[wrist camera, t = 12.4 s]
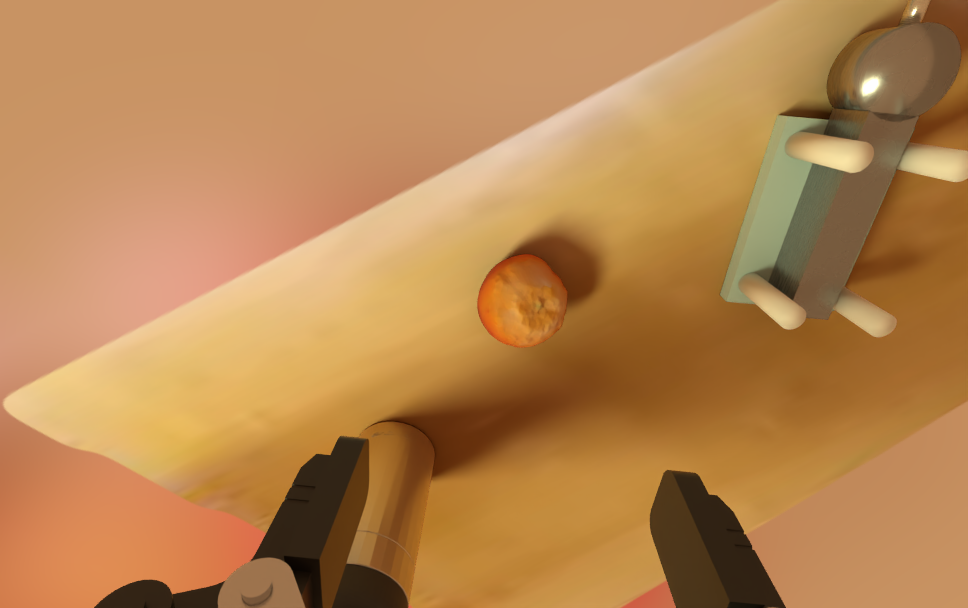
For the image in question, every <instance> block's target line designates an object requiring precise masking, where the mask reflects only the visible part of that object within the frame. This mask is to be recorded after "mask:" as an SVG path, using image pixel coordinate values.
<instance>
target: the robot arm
mask: <svg viewBox="0 0 968 608" xmlns="http://www.w3.org/2000/svg"><path fill="white" fill-rule="evenodd" d="M434 459H435V452H434V448H433V445H432V443H431V441H430V440H429V439H428V438H427V436H426V435H425V434H424V433H422V432H421V431H420V430H418V429H416V428H415V427H413V426H410V425H408V424H405V423H400V422H382V423H377V424H375V425H372V426H370V427H369V428H367V429H366V430H364V431H363V432H362V433H361V435H360V436H359V438H357V437H347V436H340V437H339V438H338V440H337V442H336V444H335V447H334V449H333V451H332V453H331V455H323V454H316V455H315V456H314V457H313V458H311V459H310V460H309V461H308V462H307V463H306V464H305V465H303V466H302V467H301V469H300V471H299V472H298V474H297V476H296V478H295V480H294V482H293V484H292V488H290V489H289V491H288V493H287V495H286V497H285V501H284V502H283V503H282V505H281V506H280V508H279V510H278V512H277V514H276V516H275V518H274V520H273V522H272V524H271V525H270V527H269V529H268V531H267V533H266V535H265V537H264V539H263V541H262V543H261V544H260V546H259V548H258V550H257V552H256V554H255V555H254V557H253V559H252V560H251V561H250V562H248V563H246V564H244V565H243V566H241V567H240V568H238V569H237V570H236V571H234V572H233V573H232V574H231V575H230V576H229V577H228V578H227V580H226V581H224V582H222V583H219V584H217V585H214V586H210V587H206V588H201V589H196V590H191V591H187V592H182V593H177V594H172V593H171V591H170V589H169V587H167V585H166V584H164V583H163V582H160V581H157V580H141V581H136V582H133V583H130V584H128V585H126V586H123V587H121V588H119V589H117V590H115V591H114V592H112V593H111V594H109V595H108V596H106V597H105V598H104V599H103V600H101V601H100V602H99V604H97V605H96V606H95V607H94V608H408V605H409V600H410V594H411V589H412V583H413V577H414V571H415V565H416V560H417V554H418V548H419V543H420V537H421V532H422V526H423V521H424V515H425V510H426V504H427V498H428V493H429V487H430V483H431V477H432V471H433V466H434ZM650 529H651V534H652V537H653V540H654V543H655V546H656V549H657V552H658V555H659V558H660V561H661V564H662V567H663V570H664V573H665V576H666V579H667V582H668V585H669V588H670V591H671V594H672V597H673V599H674V603H675V605H676V608H786V607H785V605H784V603H783V602H782V600H781V598H780V596H779V594H778V592H777V591H776V589H775V587H774V585H773V583H772V581H771V580H770V578H769V576H768V574H767V572H766V571H765V569H764V567H763V565H762V563H761V561H760V560H759V558H758V556H757V554H756V552H755V551H754V550H752V545H751V543H750V541H749V540H748V538H747V536H746V535H745V534H744V530H743V529H742V527H741V525H740V523H739V521H738V519H737V518H736V516H735V514H734V512H733V511H732V510H731V509H730V508H729V507H728V506H727V505H726V504H725V503H724V502H723V501H722V500H721V499H720V498H719V497H718V496H717V495H709V494H708V492H707V490H706V488H705V486H704V484H703V482H702V480H701V479H700V477H699V476H698V474H696V473H691V472H682V471H672V470H667V471H665V473H664V474H663V477H662V480H661V483H660V486H659V488H658V491H657V494H656V497H655V500H654V503H653V506H652V509H651V513H650Z"/></svg>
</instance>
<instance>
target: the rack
mask: <svg viewBox="0 0 968 608" xmlns="http://www.w3.org/2000/svg"><path fill="white" fill-rule="evenodd" d="M827 123H828V120H827V119H816V118H804V117H793V116H782V115H778V116H777V119H776V122H775V125H774V128H773V131H772V135H771V138H770V141H769V144H768V147H767V150H766V153H765V156H764V159H763V162H762V166H761V169H760V172H759V175H758V178H757V181H756V184H755V187H754V190H753V193H752V196H751V200H750V203H749V206H748V209H747V212H746V215H745V218H744V221H743V224H742V227H741V231H740V234H739V237H738V240H737V243H736V246H735V249H734V252H733V255H732V258H731V262H730V265H729V268H728V271H727V274H726V277H725V280H724V283H723V286H722V289H721V292H720V296H721V297H722V298H723V299H724V300H725V301H726V302H737V303H748V304H756V305H757V306H758V307H760V308H761V309H762V310H763V311H764V312H765V313H766V314H768V315H769V316H770V317H771V318H772V319H773V320H774V321H776V322H777V323H778V324H779V325H780V326H781V327H783V328H784V329H795V328H797V327H799V326H800V325H802V324H803V323H804V321H805V319H806V311H805V310H804V309H803V308H802V307H801V306H799V305H798V304H797V303H795V302H794V301H793V300H791V299H790V298H789V297H787V296H786V295H785V294H783V293H782V292H781V291H779V290H778V289H777V288H775V287H774V286H773V285H771V284H770V283H769V282H768V281H769V279H770V276H771V273H772V270H773V268H774V265H775V262H776V260H777V257H778V254H779V252H780V249H781V246H782V244H783V241H784V238H785V236H786V233H787V230H788V228H789V225H790V222H791V220H792V217H793V214H794V212H795V209H796V206H797V203H798V201H799V198H800V195H801V193H802V190H803V187H804V185H805V182H806V179H807V177H808V174H809V171H810V169H811V166H812V163H815V164H819V165H822V166H826V167H830V168H834V169H838V170H842V171H845V172H849V173H856V172H860V171H862V170H864V169H865V168H866V167H867V166H868V165H869V164H870V163H871V161H872V159H873V156H874V149H873V147H872V145H871V144H869V143H867V142H863V141H857V140H850V139H844V138H838V137H832V136H826V135H823V134H824V131H825V128H826V126H827ZM914 129H915V128H914ZM914 129H913V131H912V133H911V136H912V134H913V132H914ZM911 136H910V138H911ZM910 138H909V140H908V142H907V145H906V147H905V149H904V151H903V154H902V156H901V158H900V160H899V162H898V165H897V167H896V169H895V171H894V174H895V172H896V170H902V171H907V172H911V173H916V174H920V175H925V176H929V177H934V178H938V179H943V180H947V181H952V182H960V181H963V180H966V179H967V178H968V151H966V150H959V149H952V148H945V147H939V146H932V145H925V144H918V143H911V142H909V141H910ZM894 174H893V176H892V178H891V180H890V183H891V181H892V179H893V177H894ZM890 183H889V185H888V187H887V189H886V191H885V194H884V196H883V198H882V200H881V203H880V205H879V207H878V209H877V212H876V214H875V216H874V218H873V220H872V223H871V225H870V227H869V229H868V232H867V234H866V236H865V238H864V240H863V243H862V245H861V247H860V249H859V252H858V254H857V256H856V258H855V261H854V263H853V265H852V267H851V269H850V272H849V274H848V276H847V278H846V281H845V283H844V285H843V287H842V290H841V292H840V294H839V296H838V298H837V301H836V303H835V305H834V307H833V310H832V311H834V310H835V311H837V312H838V313H840V314H841V315H843V316H844V317H846V318H847V319H849V320H850V321H852V322H853V323H854V324H856V325H857V326H859V327H860V328H862V329H863V330H865V331H866V332H868V333H869V334H871V335H872V336H874V337H883V336H886V335H888V334H889V333H891V332H892V331H893V330H894V329H895V327H896V324H897V320H896V318H895V317H894V316H893V315H891V314H889V313H888V312H886V311H884V310H883V309H881V308H879V307H878V306H876V305H874V304H873V303H871V302H869V301H867V300H866V299H864V298H862V297H861V296H859V295H857V294H856V293H854V292H852V291H851V290H849V289H847V288H846V287H845V285H846V282H847V280H848V278H849V276H850V273H851V271H852V269H853V267H854V264H855V262H856V260H857V258H858V255H859V253H860V251H861V249H862V246H863V244H864V242H865V240H866V237H867V235H868V233H869V231H870V228H871V226H872V224H873V222H874V219H875V217H876V215H877V213H878V210H879V208H880V206H881V204H882V201H883V199H884V197H885V195H886V192H887V190H888V188H889V186H890Z"/></svg>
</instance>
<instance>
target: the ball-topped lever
mask: <svg viewBox="0 0 968 608" xmlns="http://www.w3.org/2000/svg"><path fill="white" fill-rule="evenodd" d="M930 2H931V0H908V3H907V5H906V8H905V10H904V13H903V15H902V18H901V20H900V23H899V25H898V27H891V28H883V29H876V30H872V31H869V32H867V33H864V34H862V35H860V36H858V37H857V38H855V39H854V40H853V41H851V42H850V43H849V44H848V45H847V46H846V47H845V48H844V49H843V50H842V51H841V52H840V54H839V55H838V56H837V58H836V59H835V61H834V63H833V65H832V67H831V69H830V72H829V75H828V80H827V95H828V99H829V101H830V103H831V105H832V107H833V108H834V109H833V110H832V112H831V115H830V118H829V120H828V123H827V126H826V128H825V131H824V134H823V135H826V136H832V137H838V138H844V139H850V140H857V141H863V142H867V143H869V144H871V145H872V147H873V149H874V156H873V159H872V161H871V163H870V164H869V165H868V166H867V167H866V168H865V169H864V170H862V171H860V172H856V173H849V172H845V171H842V170H838V169H834V168H830V167H826V166H822V165H819V164H815V163H812V166H811V169H810V171H809V174H808V177H807V179H806V182H805V185H804V187H803V190H802V193H801V195H800V198H799V201H798V203H797V206H796V209H795V212H794V214H793V217H792V220H791V222H790V225H789V228H788V230H787V233H786V236H785V238H784V241H783V244H782V246H781V249H780V252H779V254H778V257H777V260H776V262H775V265H774V268H773V270H772V273H771V276H770V279H769V281H768V282H769V283H770V284H771V285H773V286H774V287H775V288H777V289H778V290H779V291H781V292H782V293H783V294H785V295H786V296H787V297H789V298H790V299H791V300H793V301H794V302H795V303H797V304H798V305H799V306H801V307H802V308H803V309H804V310H805V311H806V318H815V319H825V320H828V319H829V316H830V314H831V312H832V310H833V307H834V305H835V303H836V301H837V298H838V296H839V294H840V292H841V290H842V287H843V285H844V283H845V281H846V278H847V276H848V274H849V272H850V269H851V267H852V265H853V263H854V261H855V258H856V256H857V254H858V252H859V249H860V247H861V245H862V243H863V240H864V238H865V236H866V234H867V232H868V229H869V227H870V225H871V223H872V220H873V218H874V216H875V214H876V212H877V209H878V207H879V205H880V203H881V200H882V198H883V196H884V194H885V191H886V189H887V187H888V185H889V183H890V180H891V178H892V176H893V174H894V171H895V169H896V167H897V165H898V162H899V160H900V158H901V156H902V154H903V151H904V149H905V147H906V145H907V142H908V140H909V138H910V136H911V133H912V131H913V129H914V127H915V125H916V122H917V120H918V118H919V115H921V114H923V113H924V112H926V111H928V110H929V109H930V108H932V107H933V106H934V105H935V104H937V103H938V102H939V101H940V100H941V99H942V98H943V96H944V95H945V94H946V93H947V91H948V90H949V89H950V87H951V85H952V84H953V82H954V80H955V78H956V76H957V73H958V70H959V67H960V61H961V48H960V44H959V41H958V39H957V37H956V35H955V34H954V32H953V31H951V30H950V29H949V28H948V27H946V26H944V25H941V24H938V23H929V22H927V23H922V21H923V18H924V16H925V14H926V11H927V9H928V6H929V4H930Z"/></svg>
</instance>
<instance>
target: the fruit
mask: <svg viewBox="0 0 968 608" xmlns="http://www.w3.org/2000/svg"><path fill="white" fill-rule="evenodd" d="M566 306H567V290H566V289H565V287H564V285H563V283H562V281H561V279H560V278H559V277H558V276H557V275H556V274H555V273H554V272H553V271H552V270H551V268H550V267H549V266H548V264H547V263H546V262H545V261H544V260H542V259H541V258H539V257H537V256H534V255H530V254H523V255H518V256H514V257H511V258H508V259H506V260H504V261H502V262H500V263H499V264H497V265H496V266H495V267H494V268H493V269H491V271H490V272H489V273H488V275H487V276H486V278H485V280H484V282H483V284H482V286H481V288H480V291H479V296H478V304H477V307H478V313H479V317H480V319H481V321H482V323H483V325H484V326H485V328H486V329H487V331H488V332H489V333H490V334H491V335H492V336H493V337H494V338H496V339H497V340H498V341H500V342H502V343H504V344H507V345H511V346H515V347H530V346H535V345H537V344H539V343H542V342H544V341H545V340H547V339H548V338H549V337H551V336H552V335H553V334H554V333H555V332H556V331H558V330H559V329H560V327H561V326H562V323H563V320H564V316H565V313H566Z"/></svg>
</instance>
